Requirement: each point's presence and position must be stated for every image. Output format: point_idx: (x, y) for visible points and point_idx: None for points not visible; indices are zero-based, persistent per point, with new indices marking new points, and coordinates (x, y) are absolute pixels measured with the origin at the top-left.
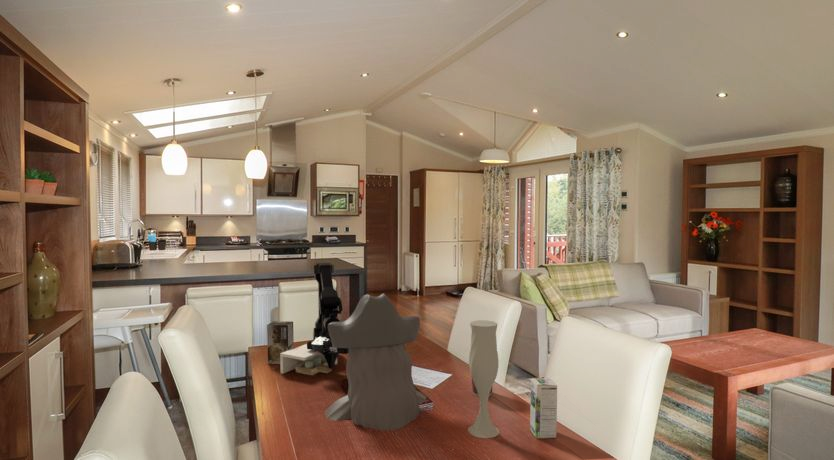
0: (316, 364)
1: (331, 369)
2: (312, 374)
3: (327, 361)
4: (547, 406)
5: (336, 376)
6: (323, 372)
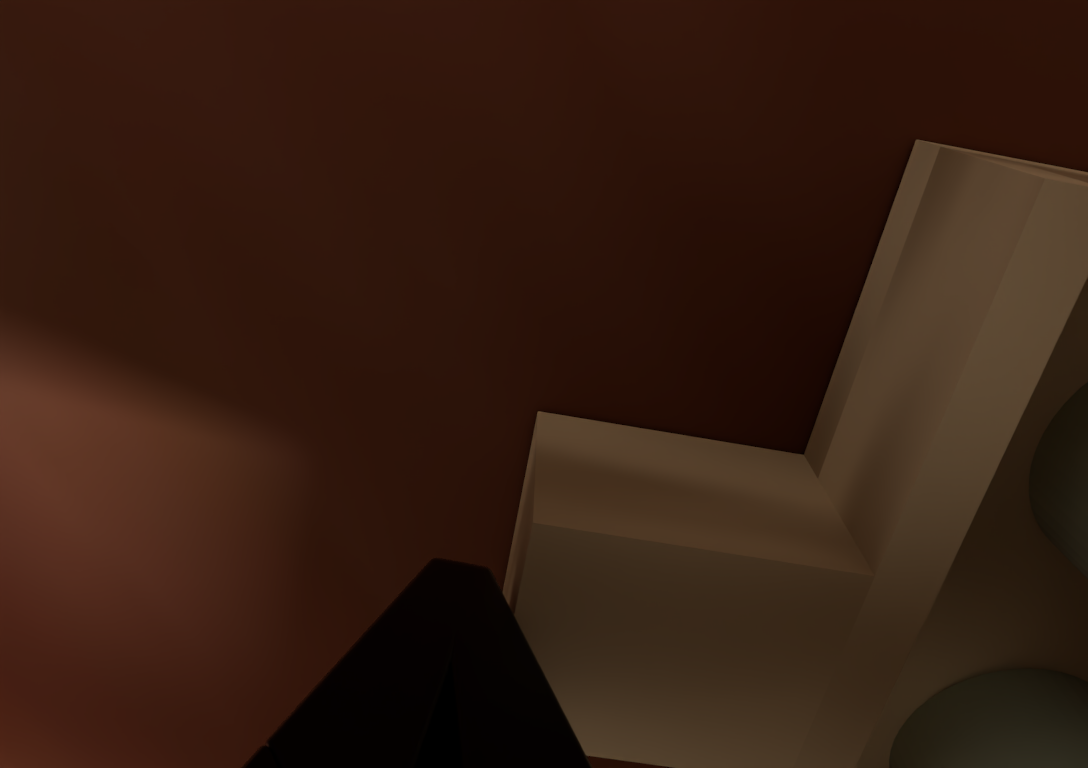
0: (1048, 764)
1: None
2: (960, 154)
3: (531, 751)
4: None
5: (175, 317)
6: (665, 447)
